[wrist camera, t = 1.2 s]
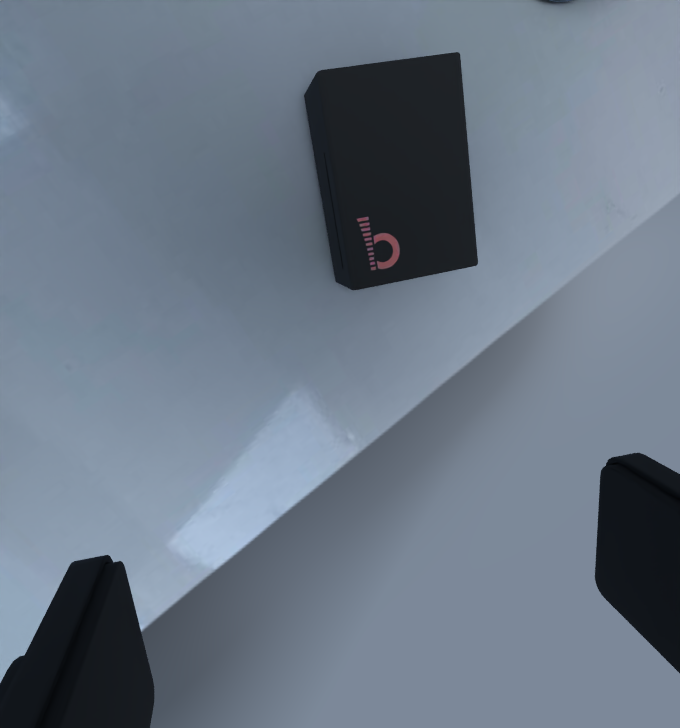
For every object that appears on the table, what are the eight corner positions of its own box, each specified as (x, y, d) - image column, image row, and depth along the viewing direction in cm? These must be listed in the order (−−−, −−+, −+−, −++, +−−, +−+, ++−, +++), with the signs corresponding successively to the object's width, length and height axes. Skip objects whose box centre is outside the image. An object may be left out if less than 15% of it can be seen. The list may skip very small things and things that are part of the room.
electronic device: (425, 78, 30) (462, 50, 25) (444, 259, 33) (480, 265, 28) (302, 96, 29) (316, 70, 24) (334, 281, 32) (352, 291, 27)
